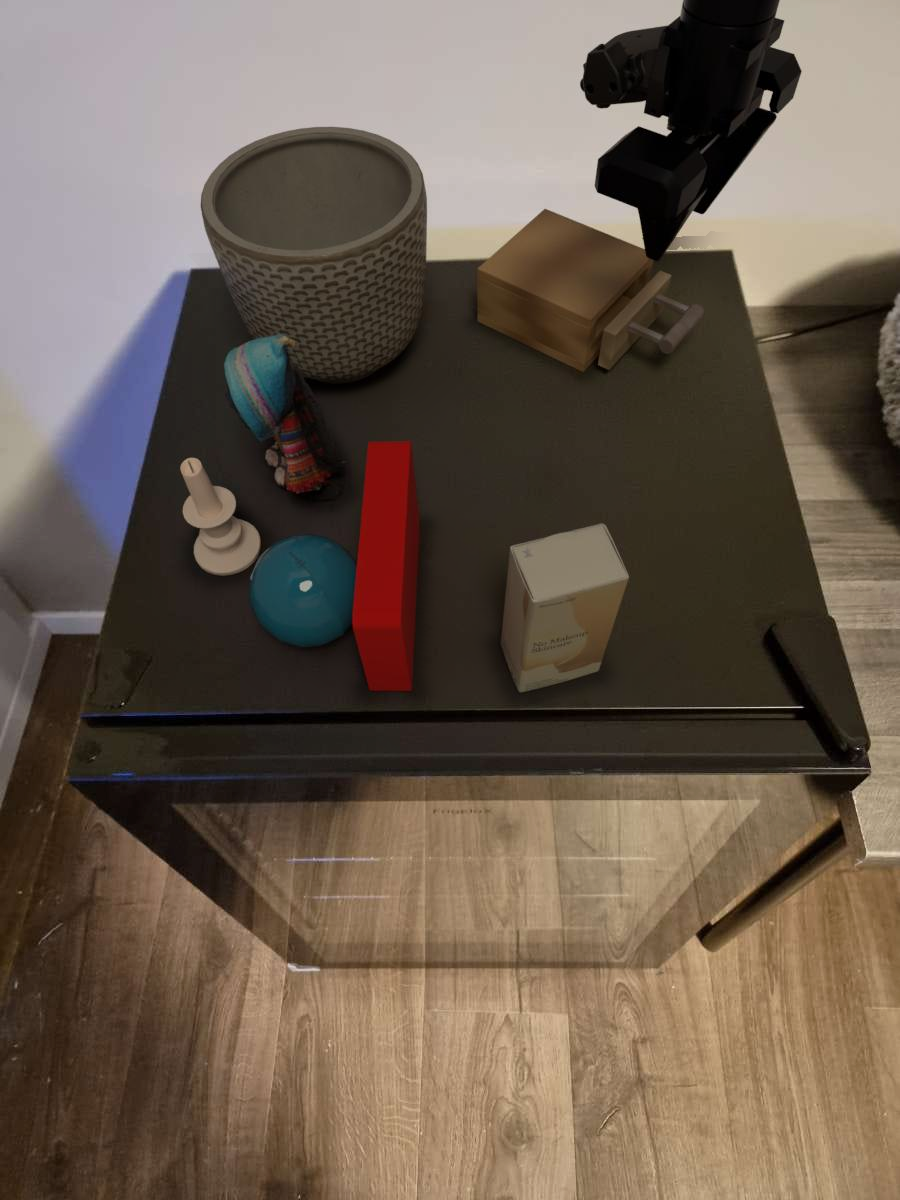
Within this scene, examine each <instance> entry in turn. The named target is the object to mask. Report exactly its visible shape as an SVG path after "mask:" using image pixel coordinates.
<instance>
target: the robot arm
mask: <svg viewBox="0 0 900 1200" xmlns="http://www.w3.org/2000/svg"><path fill="white" fill-rule="evenodd" d="M780 1H781V0H682V4H681V9H680V15H679V16H678V17H677V18H675V19H674V20H672V21H671V23H669V24H667V25H662V26H656V27H648V28H641V29H633V30H628V31H626V32H622V33H620V34H617V35H616V36H614V37H612V38H611V39H609V40H608V41H607V42H605V43H600V44H598V45H597V46H595V47H594V48H593V49H592V50H590V51H588V53H587V55H586V59H585V60H586V61H585V62H584V63H583V64H582V67H583V73H582V78H581V79H580V82H579V87H580V90H581V91H582V92H583V93H584V98H585V99H586V101H587V102H588V103H589V104H590V105H592V106H596V108H598V109H608V108H610V107H611V106H612V105H622V104H632V103H642V102H644V103H645V104H644V110H643V114H645V115H648V116H651V117H654V118H656V119H661V118H662V117H665V118H667V124H666V130H668V131H670V132H669V133H668V134H667V135H665V134H662V133H659V132H656V131H654V130H652V129H651V130H650V129H648V128H645V127H642V126H639V125H638V126H636V127H635V128H634V129H632V130H631V131H629V132H627V133H626V134H625V135H623V136H622V137H621V138H620V139H619V140H618V141H616V142H615V144H613V145H612V146H611V147H610V148H608V149H607V151H606V152H604V153H603V154H602V155H601V156H600V157H598V159H597V163H596V171H595V180H594V188H595V190H596V193H597V194H600V195H603V196H605V197H608V198H609V199H613V200H615V201H618V202H620V203H623V204H626V205H627V206H630V207H633V208H636V209H637V213H638V216H639V217H638V218H639V223H640V229H641V235H642V241H643V247H644V249H645V253H646V256H647V257H648V258H649V259H652V260H653V262H654V261H655V262H659V261H660V260H661V259H662V258H663V256H664V255H665V254H666V252H667V250H669V247H670V246H671V245H672V244H673V242H674V240H675V238H676V237H677V236H678V235H679V233H680V231H681V230H682V228H683V226H684V225H685V224H686V222H687V221H688V220H689V217H690V216H691V214H692V213H693V212H694V213H697V214H699V215H704V214H705V213H707V211H708V210H709V208H710V207H711V206H712V204H713V203H714V202H715V200H716V199H717V197H719V195H720V194H721V193H722V191H723V190H724V189H725V187H726V186H727V184H728V183H729V181H730V180H731V179H732V178H733V176H734V175H735V174H736V172H737V171H738V170H739V168H740V167H741V166H742V165H743V163H744V162H745V161H746V159H747V158H748V156H749V155H750V154H751V152H752V151H753V150H754V148H756V146H757V145H758V143H759V142H760V141H761V139H762V138H763V137H764V135H765V134H766V133H767V132H768V130H769V129H770V128H771V127H772V125H774V124H775V122H776V120H777V117H778V116H777V114H779V113H780V112H781V111H782V110H783V109H784V108H785V107H786V106H787V105H788V104H789V103H790V102H791V101H792V100H793V99H794V97H795V95H796V91H797V88H798V84H799V81H800V78H801V75H802V72H803V71H802V69H801V66H800V64H799V62H798V59H797V58H796V55H795V53H793V52H789V51H786V50H783V49H779V48H776V47H772V46H773V45H774V44H775V43H776V42H778V40H779V39H780V37H781V34H782V31H783V28H784V24H785V21H786V20H785V19H781V18H778V17H776V16H777V12H778V8H779V5H780ZM765 91H768V92H772V93H771V97H770V100H769V104H768V107H769V110H768V109H766V108H762V107H761V105H762V102H763V97H764V93H765Z"/></svg>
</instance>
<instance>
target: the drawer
mask: <svg viewBox="0 0 900 1200" xmlns="http://www.w3.org/2000/svg"><path fill="white" fill-rule="evenodd" d="M639 278H640V276H639V277H638V278H637V279H636V280H635V281H634V282H633V283H632V284H631V285H630V286H629V287H628V288H627V289H626V290H625V291H624V293H623V294H622V295H621V296H620V297H619V298H618V299H617V300H616V301H615V302H614V303H613V304H612V305H611V306H610V307H609V308H608V309H607V310H606V311H605V312H604V313H603V314H602V315H601V316H600V317H599V318H598V319H597V320H596V322H595V325H594V331H593V338H592V344H591V348H592V347H593V346H594V345H595V344H596V343H597V341H598V340H599V339H600V338H601V337H602V342H601V348H600V354H599V356H598V362H597V365H598V366H600V367H601V368H604V369H605V370H607V371H610V370H611V369H612V368H613V367H614V365H615V364H616V363H617V362H618V361H619V360H620V359H621V358H622V357H623V356H624V355H625V354H626V353H627V351H628V350H629V349H630V348H631V347H632V346H633V345H634V343H635V342H636V341H638V339H639V338H643V339H645V340H647V341H649V342H652V343H654V344H657V345H658V348H659V351H661V352H662V353H663V354H666V355H670V354H672V353H673V352H674V351H675V350H676V348H677V347H678V346H679V345H680V344H681V343H682V342H683V340H684V339H685V338H687V336H688V335H689V334H690V332H691V331H692V330H693V329H694V328H695V327H696V326H697V324H698V323H699V322H700V321H701V320H702V319H703V318H704V316H705V309H704V308H703V306H702V305H700V304H697V303H695V304H691V305H690V306H689V305H686V304H683V303H682V302H680V301H676V300H674V299H672V298H669V297H667V296H668V292H669V287H670V284H671V279H672V274H670V273H667V272H665V271H662V270H659V271H658V272H656V274H655V275H654V276H653V277H652V278H650V280H649V283H648V284H647V285H646V286H645V287H644V288H643V289H642V290H641V291H640V292H639V293H638V294H637V288H638V283H639ZM636 294H637V295H636ZM664 308H665V309H668V310H671V311H673V312H675V313H678V314H680V315H682V316H680V318H679V319H678V320H677V321H676V322H675V323H674V324H673V325H672V327H671V328H670V329H668V331H667V332H666V334H665V335H664V334H661V333H659V332H656V331H654V330H651V329H650V328H649V327H650V326H651V325H652V324H653V323H654V322H655V321H656V320H657V318H658V317H659V316H660V315H661V314H662V313H663V312H664Z"/></svg>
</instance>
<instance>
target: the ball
mask: <svg viewBox="0 0 900 1200" xmlns="http://www.w3.org/2000/svg"><path fill="white" fill-rule="evenodd" d="M356 572H357V562H356V560H355V559H354V557H353V556H352V554H351V553H350V551H349V550H348V549H347V548H346V547H344V546H343V545H341V544H339V543H338V542H336V541H335V540H333V539H331V538H329V537H327V536H323V535H320V534H319V535H318V534H313V533H302V534H294V535H289V536H286V537H285V538H283V539H280V540H278V541H276V542H274V543H272V544H271V545H269V547H268V548H267V549H266V550H265V551H264V552H263V553H262V554H261V555H259V556H258V558H257V561H256V563H255V565H254V567H253V570H252V572H251V574H250V576H249V583H248V584H249V585H248V586H249V589H248V590H249V604H250V607H251V610H252V612H253V614H254V615H255V618H256V619H257V621H258V623H259V624H260V626H261V628H262V629H263V630H264V631H265V632H266V633H268V634H269V635H271V636H273V637H274V638H275V639H277V640H278V641H280V642H281V643H283V644H284V645H289V646H295V647H299V648H304V649H305V648H306V649H307V648H313V647H321V646H326V645H327V644H329V643H331V642H333V641H335V640H337V639H339V638H341V637H343V636H344V635H345V633H346V632H347V631H348V630H349V629H350V628H351V627H353V605H354V594H355V583H356Z"/></svg>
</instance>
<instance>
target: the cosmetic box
mask: <svg viewBox="0 0 900 1200" xmlns="http://www.w3.org/2000/svg"><path fill="white" fill-rule="evenodd" d="M506 576H507V577H506V585H505V593H504V594H505V595H504V607H503V615H502V625H501V635H500V646H501V647H500V648H501V649H502V652H503V656H504V659H505V662H506V665H507V668H508V670H509V673H510V675H511V679H512V681H513V683H514V685H515V688H516V690H517V691H518V693H525V692H528V691H533V690H538V689H542V688H546V687H549V686H552V685H553V686H554V685H557V684H561V683H564V682H568V681H571V680H574V679H578V678H582V677H584V676H587V675H591V674H595V673H597V672H599V671H600V668H601V665H602V662H603V659H604V656H605V653H606V649H607V646H608V643H609V640H610V637H611V634H612V631H613V629H614V625H615V622H616V618H617V615H618V613H619V609H620V606H621V603H622V600H623V597H624V594H625V591H626V588H627V585H628V582H629V578H630V575H629V573H628V571H627V569H626V565H625V564H624V561H623V559H622V557H621V555H620V552H619V550H618V548H617V546H616V544H615V541H614V539H613V537H612V535H611V533H610V531H609V529H608V527H607V525H606V524H605V523H597V524H594V525H590V526H586V527H582V528H577V529H573V530H570V531H565V532H564V531H563V532H558V533H555V534H552V535H548V536H546V537H541V538H537V539H534V540H530V541H526V542H521V543H517V544H513V545H511V546H510V547H509V558H508V565H507V575H506Z"/></svg>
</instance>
